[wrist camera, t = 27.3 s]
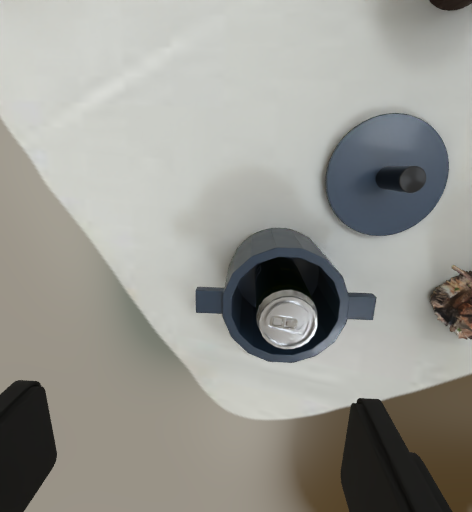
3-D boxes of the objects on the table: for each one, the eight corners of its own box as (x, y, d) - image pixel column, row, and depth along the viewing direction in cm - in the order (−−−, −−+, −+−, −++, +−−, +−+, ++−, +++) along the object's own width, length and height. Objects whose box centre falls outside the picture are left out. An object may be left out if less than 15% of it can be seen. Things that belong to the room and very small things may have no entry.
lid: (330, 114, 32) (350, 100, 26) (453, 116, 32) (505, 102, 25) (318, 232, 36) (333, 246, 29) (429, 235, 35) (469, 250, 29)
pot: (207, 225, 36) (193, 244, 27) (353, 230, 35) (388, 251, 26) (208, 314, 39) (195, 358, 30) (341, 320, 39) (368, 366, 30)
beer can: (252, 293, 38) (252, 347, 26) (257, 252, 36) (260, 290, 25) (295, 298, 38) (314, 354, 26) (302, 256, 36) (325, 298, 25)
